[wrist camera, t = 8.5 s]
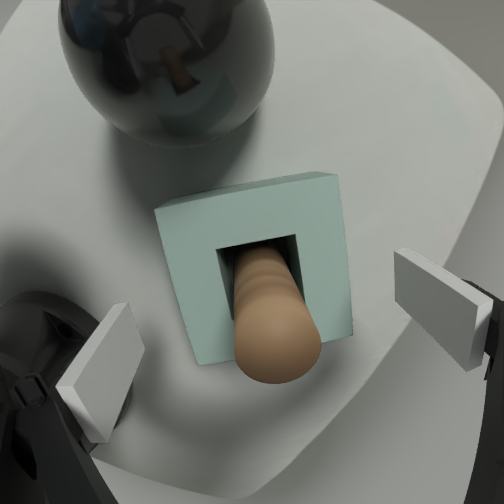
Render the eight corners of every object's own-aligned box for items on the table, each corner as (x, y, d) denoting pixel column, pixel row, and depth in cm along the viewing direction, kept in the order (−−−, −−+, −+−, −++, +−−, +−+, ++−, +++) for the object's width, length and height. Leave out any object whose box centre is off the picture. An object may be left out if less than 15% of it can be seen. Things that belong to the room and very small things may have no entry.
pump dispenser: (293, 114, 20) (400, 36, 6) (152, 175, 21) (12, 208, 6) (235, -3, 18) (238, -159, 3) (103, 56, 18) (-30, -32, 4)
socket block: (204, 327, 24) (198, 365, 19) (171, 198, 21) (154, 209, 17) (332, 303, 24) (352, 335, 19) (315, 171, 21) (337, 174, 17)
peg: (230, 238, 22) (225, 320, 11) (275, 230, 22) (317, 303, 11) (238, 281, 23) (243, 390, 12) (282, 272, 23) (323, 374, 12)
